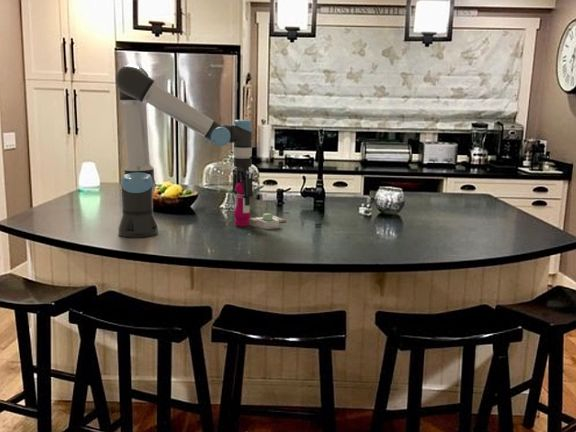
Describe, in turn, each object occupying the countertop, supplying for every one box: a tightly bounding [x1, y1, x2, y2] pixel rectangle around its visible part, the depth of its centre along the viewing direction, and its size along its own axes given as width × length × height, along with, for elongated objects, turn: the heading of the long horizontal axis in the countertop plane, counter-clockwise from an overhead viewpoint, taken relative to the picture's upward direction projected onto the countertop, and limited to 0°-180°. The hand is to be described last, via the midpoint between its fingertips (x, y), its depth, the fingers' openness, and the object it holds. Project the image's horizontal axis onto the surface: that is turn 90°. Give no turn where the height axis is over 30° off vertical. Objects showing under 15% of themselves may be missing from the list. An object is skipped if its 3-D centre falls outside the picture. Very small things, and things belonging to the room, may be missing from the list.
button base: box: [255, 218, 280, 230], centre depth 245 cm, size 7×7×3 cm
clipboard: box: [248, 215, 287, 224], centre depth 255 cm, size 13×10×1 cm
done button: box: [262, 212, 273, 222], centre depth 244 cm, size 4×4×4 cm
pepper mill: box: [233, 180, 251, 227], centre depth 245 cm, size 7×7×20 cm
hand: (242, 211), depth 246 cm, fingers closed on pepper mill, 6 cm apart
